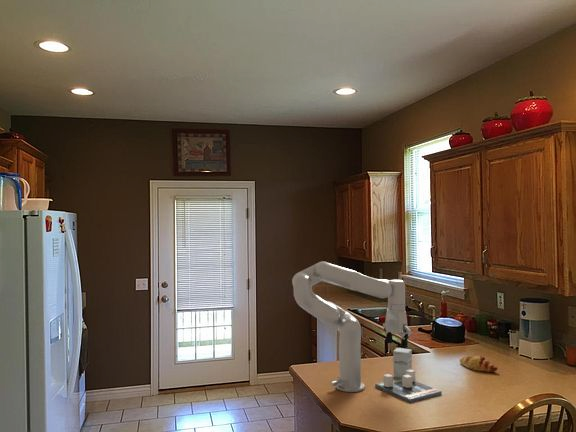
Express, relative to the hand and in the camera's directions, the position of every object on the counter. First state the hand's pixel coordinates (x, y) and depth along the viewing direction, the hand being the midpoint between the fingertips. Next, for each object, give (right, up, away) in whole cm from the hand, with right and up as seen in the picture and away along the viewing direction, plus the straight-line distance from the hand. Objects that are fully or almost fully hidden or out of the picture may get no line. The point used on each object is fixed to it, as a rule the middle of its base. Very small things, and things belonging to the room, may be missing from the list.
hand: (396, 345), depth 214 cm
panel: (+3, -18, -6) cm, 19 cm away
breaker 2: (+7, -16, +1) cm, 18 cm away
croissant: (+47, -19, +24) cm, 56 cm away
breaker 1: (-5, -16, -5) cm, 18 cm away
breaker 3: (+3, -16, -6) cm, 18 cm away
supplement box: (+6, -19, +13) cm, 24 cm away
